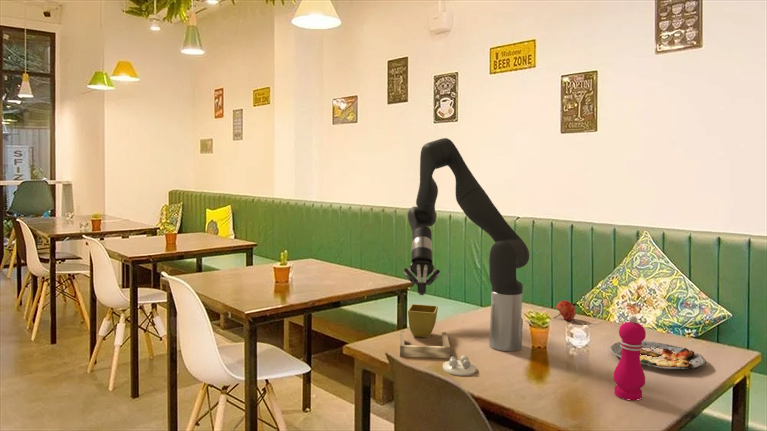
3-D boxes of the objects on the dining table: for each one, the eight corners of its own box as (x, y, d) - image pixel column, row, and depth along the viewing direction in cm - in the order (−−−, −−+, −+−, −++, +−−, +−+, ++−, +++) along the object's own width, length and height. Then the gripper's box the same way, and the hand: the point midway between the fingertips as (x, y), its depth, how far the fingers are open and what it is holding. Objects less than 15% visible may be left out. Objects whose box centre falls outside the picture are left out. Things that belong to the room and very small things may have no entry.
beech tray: (445, 341, 180) (446, 332, 180) (449, 358, 165) (450, 347, 165) (400, 340, 180) (400, 330, 180) (399, 356, 165) (400, 346, 165)
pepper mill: (606, 390, 144) (611, 312, 142) (634, 389, 145) (639, 312, 143) (621, 402, 137) (626, 320, 135) (650, 401, 138) (655, 320, 136)
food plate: (714, 360, 168) (715, 348, 168) (691, 382, 151) (692, 369, 151) (627, 343, 185) (628, 332, 185) (598, 361, 168) (598, 349, 168)
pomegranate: (557, 327, 206) (581, 313, 203) (546, 310, 208) (569, 296, 205) (560, 324, 213) (584, 311, 210) (549, 307, 215) (572, 294, 212)
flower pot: (434, 340, 181) (435, 312, 180) (406, 338, 183) (407, 310, 182) (437, 332, 190) (438, 305, 189) (411, 330, 191) (411, 303, 190)
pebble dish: (473, 364, 160) (474, 352, 160) (478, 376, 151) (478, 363, 151) (441, 363, 161) (442, 351, 160) (443, 374, 152) (444, 362, 151)
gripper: (403, 245, 202) (402, 287, 191) (441, 246, 202) (442, 289, 191) (403, 257, 208) (401, 299, 197) (439, 259, 207) (440, 300, 196)
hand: (421, 294), depth 194 cm, fingers closed
